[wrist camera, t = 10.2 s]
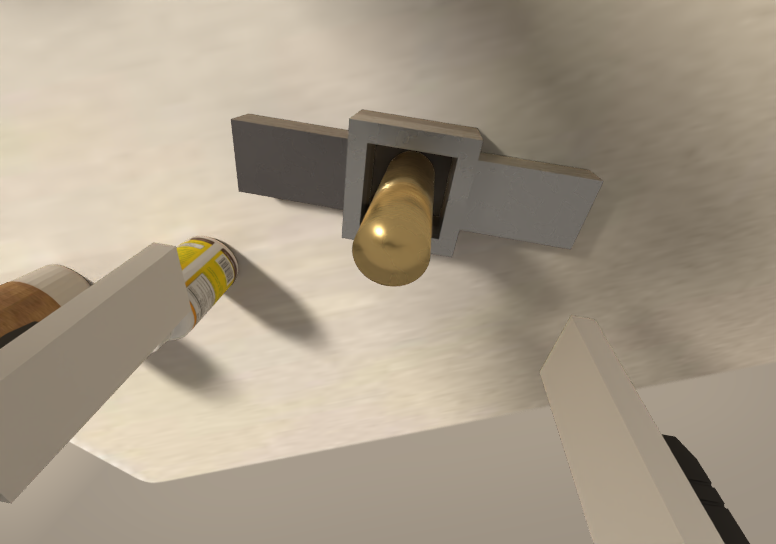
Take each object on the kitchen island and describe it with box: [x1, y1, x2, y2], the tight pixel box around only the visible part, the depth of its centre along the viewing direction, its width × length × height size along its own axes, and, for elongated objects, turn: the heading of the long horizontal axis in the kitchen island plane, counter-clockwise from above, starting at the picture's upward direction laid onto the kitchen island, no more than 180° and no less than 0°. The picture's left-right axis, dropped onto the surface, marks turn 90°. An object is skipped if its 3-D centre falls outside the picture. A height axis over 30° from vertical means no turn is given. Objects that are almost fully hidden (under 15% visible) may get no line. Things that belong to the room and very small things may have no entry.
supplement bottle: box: [152, 236, 238, 353], centre depth 28 cm, size 6×6×10 cm
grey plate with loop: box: [231, 109, 603, 257], centre depth 24 cm, size 24×8×4 cm, turn 82°
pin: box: [352, 151, 435, 286], centre depth 21 cm, size 4×4×12 cm
